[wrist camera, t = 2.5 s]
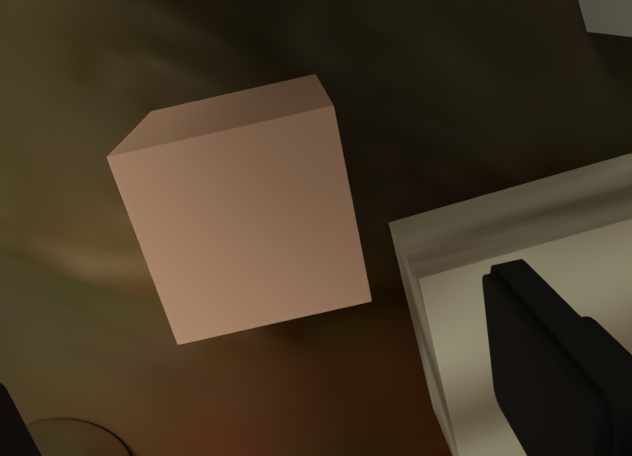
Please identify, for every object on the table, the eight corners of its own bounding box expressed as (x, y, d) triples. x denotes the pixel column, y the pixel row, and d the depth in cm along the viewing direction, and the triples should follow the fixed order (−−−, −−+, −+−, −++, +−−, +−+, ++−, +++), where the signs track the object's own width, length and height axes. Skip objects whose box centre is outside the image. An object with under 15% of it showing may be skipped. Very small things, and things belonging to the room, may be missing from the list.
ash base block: (387, 219, 22) (418, 279, 18) (627, 150, 22) (722, 192, 17) (431, 403, 26) (466, 490, 22) (635, 347, 26) (714, 423, 21)
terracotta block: (151, 110, 20) (106, 157, 14) (315, 73, 20) (333, 105, 14) (200, 256, 22) (177, 344, 17) (345, 223, 22) (372, 301, 16)
